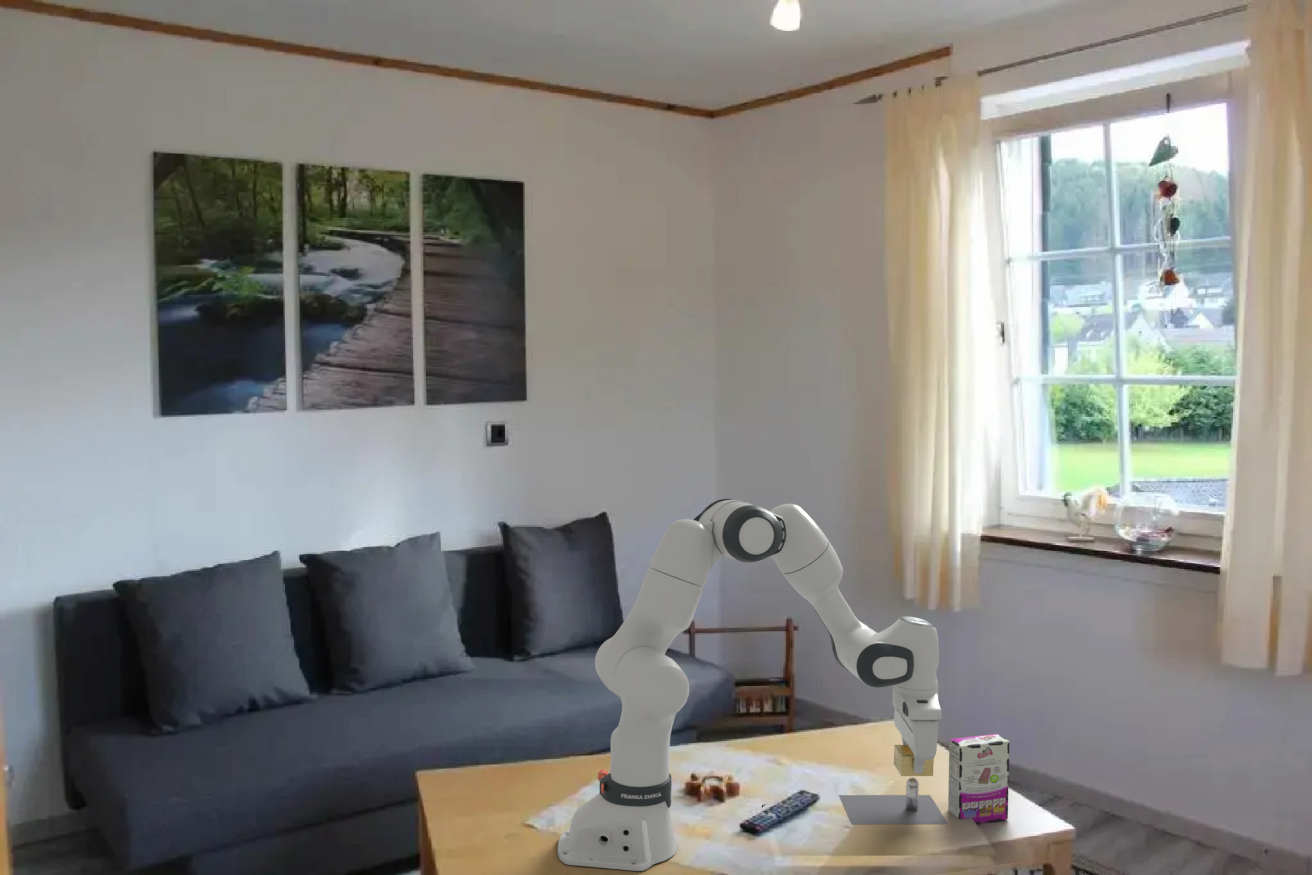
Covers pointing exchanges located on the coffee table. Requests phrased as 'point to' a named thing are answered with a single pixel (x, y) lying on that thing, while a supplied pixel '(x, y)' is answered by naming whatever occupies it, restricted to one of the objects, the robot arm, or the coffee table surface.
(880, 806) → the slate mat
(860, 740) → the coffee table surface
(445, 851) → the coffee table surface
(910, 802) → the steel post
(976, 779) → the candy bar box
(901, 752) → the brass collar
